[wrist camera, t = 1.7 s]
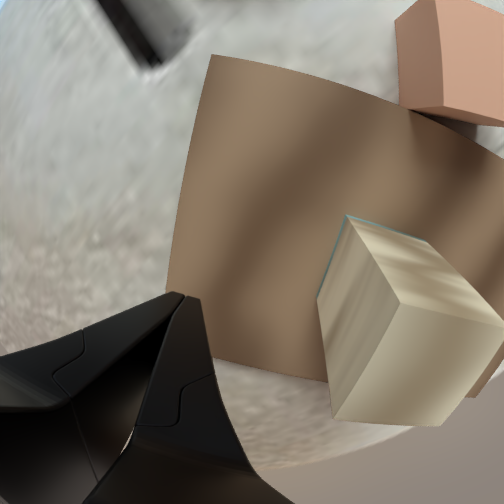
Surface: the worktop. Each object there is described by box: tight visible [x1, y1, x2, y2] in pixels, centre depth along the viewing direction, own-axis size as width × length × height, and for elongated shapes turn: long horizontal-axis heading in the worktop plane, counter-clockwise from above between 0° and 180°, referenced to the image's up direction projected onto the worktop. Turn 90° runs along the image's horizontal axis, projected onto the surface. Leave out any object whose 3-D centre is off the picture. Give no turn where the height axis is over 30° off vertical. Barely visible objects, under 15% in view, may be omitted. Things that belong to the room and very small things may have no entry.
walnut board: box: [165, 54, 504, 398], centre depth 16 cm, size 24×16×1 cm, turn 76°
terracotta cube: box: [395, 0, 504, 127], centre depth 10 cm, size 5×5×5 cm
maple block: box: [316, 214, 504, 426], centre depth 12 cm, size 4×4×8 cm
